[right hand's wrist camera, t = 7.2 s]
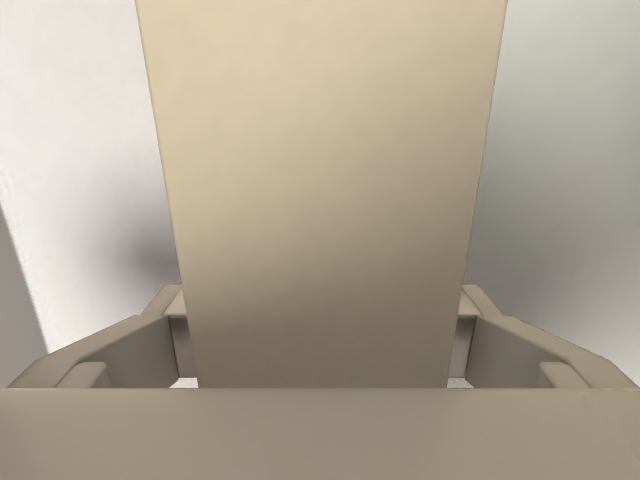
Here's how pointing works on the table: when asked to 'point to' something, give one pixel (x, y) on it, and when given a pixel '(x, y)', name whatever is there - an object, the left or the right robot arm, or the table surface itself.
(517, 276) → the table surface
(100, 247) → the table surface
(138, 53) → the table surface
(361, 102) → the beam
